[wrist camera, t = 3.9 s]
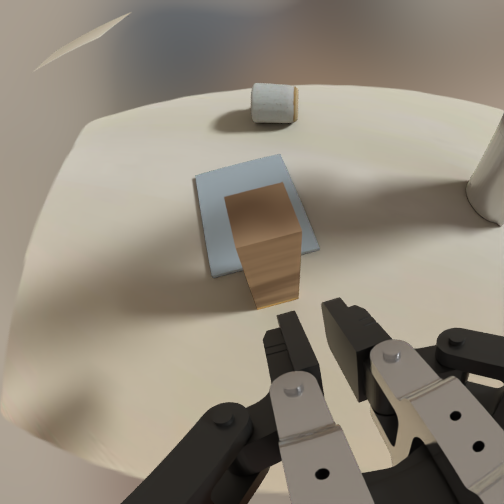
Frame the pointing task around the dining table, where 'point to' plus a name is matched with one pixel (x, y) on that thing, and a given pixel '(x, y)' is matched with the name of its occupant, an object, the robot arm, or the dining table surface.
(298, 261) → the walnut block
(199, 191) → the slate mat
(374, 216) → the dining table surface
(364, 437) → the dining table surface
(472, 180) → the robot arm
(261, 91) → the ceramic mug
